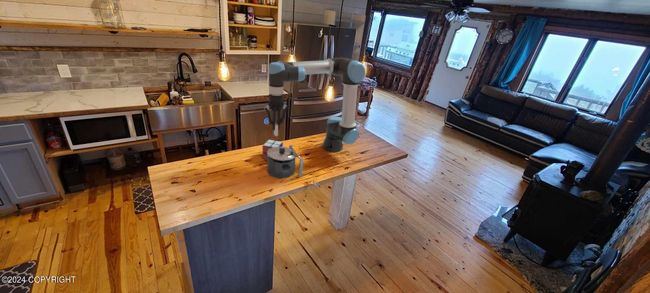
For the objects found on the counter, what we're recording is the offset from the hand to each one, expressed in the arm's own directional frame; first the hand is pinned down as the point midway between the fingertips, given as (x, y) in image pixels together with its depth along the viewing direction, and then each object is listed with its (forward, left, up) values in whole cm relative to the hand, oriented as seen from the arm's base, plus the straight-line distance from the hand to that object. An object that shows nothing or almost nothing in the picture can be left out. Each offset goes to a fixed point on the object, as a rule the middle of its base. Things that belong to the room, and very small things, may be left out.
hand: (275, 135), depth 151 cm
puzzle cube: (-4, -18, -24) cm, 30 cm away
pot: (-4, 0, -24) cm, 24 cm away
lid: (-4, 0, -13) cm, 14 cm away
